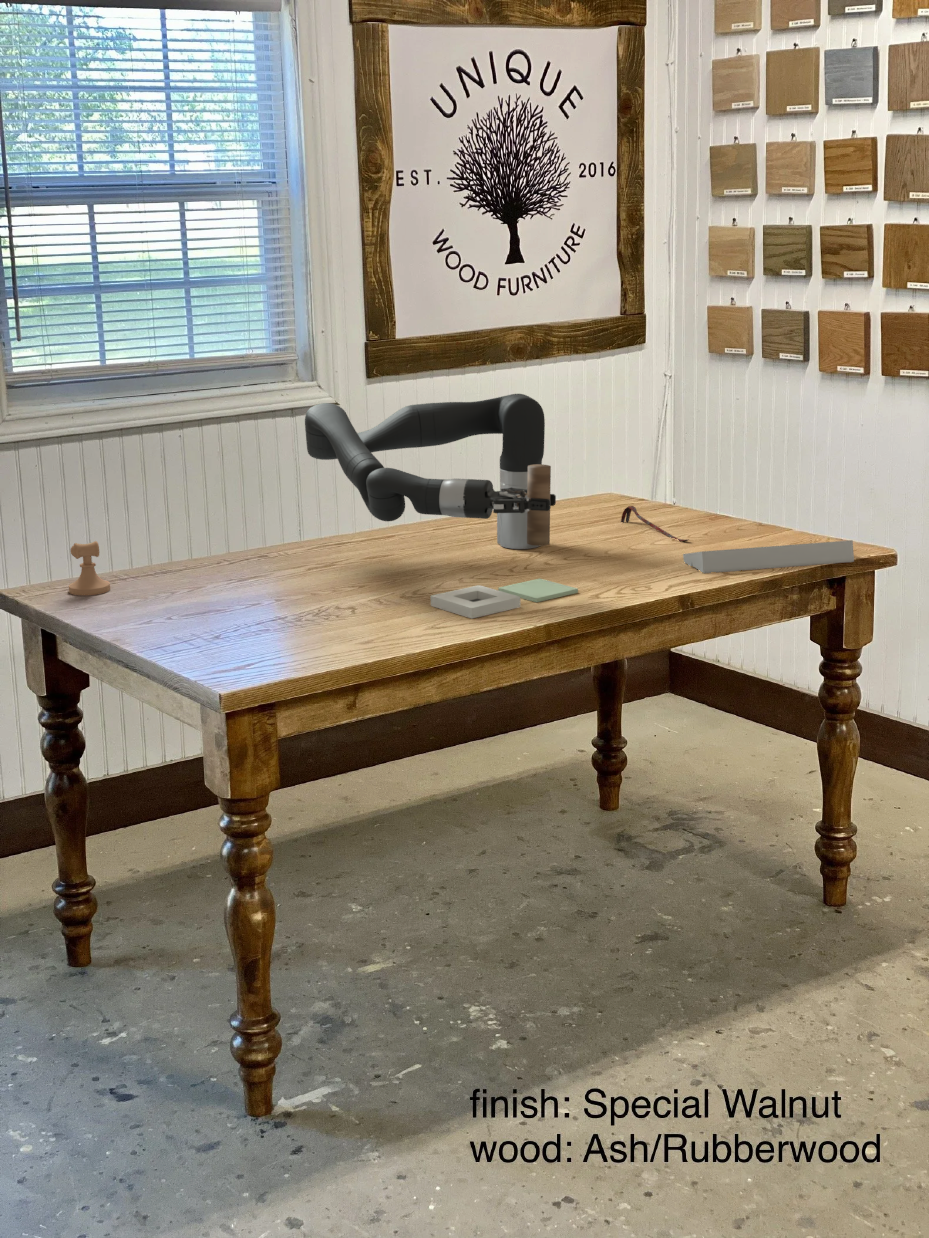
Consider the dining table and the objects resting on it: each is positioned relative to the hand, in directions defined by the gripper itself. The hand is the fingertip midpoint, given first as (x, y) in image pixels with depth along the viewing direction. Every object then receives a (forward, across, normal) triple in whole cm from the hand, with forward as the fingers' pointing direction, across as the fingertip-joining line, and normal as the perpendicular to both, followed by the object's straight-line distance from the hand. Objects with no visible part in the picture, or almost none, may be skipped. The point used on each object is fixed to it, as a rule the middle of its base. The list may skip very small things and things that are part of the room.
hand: (552, 502), depth 278 cm
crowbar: (+12, -60, -18) cm, 63 cm away
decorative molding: (+39, -35, -18) cm, 56 cm away
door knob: (-90, +18, -19) cm, 94 cm away
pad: (-3, 0, -18) cm, 18 cm away
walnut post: (-3, 0, -8) cm, 9 cm away
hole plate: (-12, +13, -18) cm, 25 cm away
